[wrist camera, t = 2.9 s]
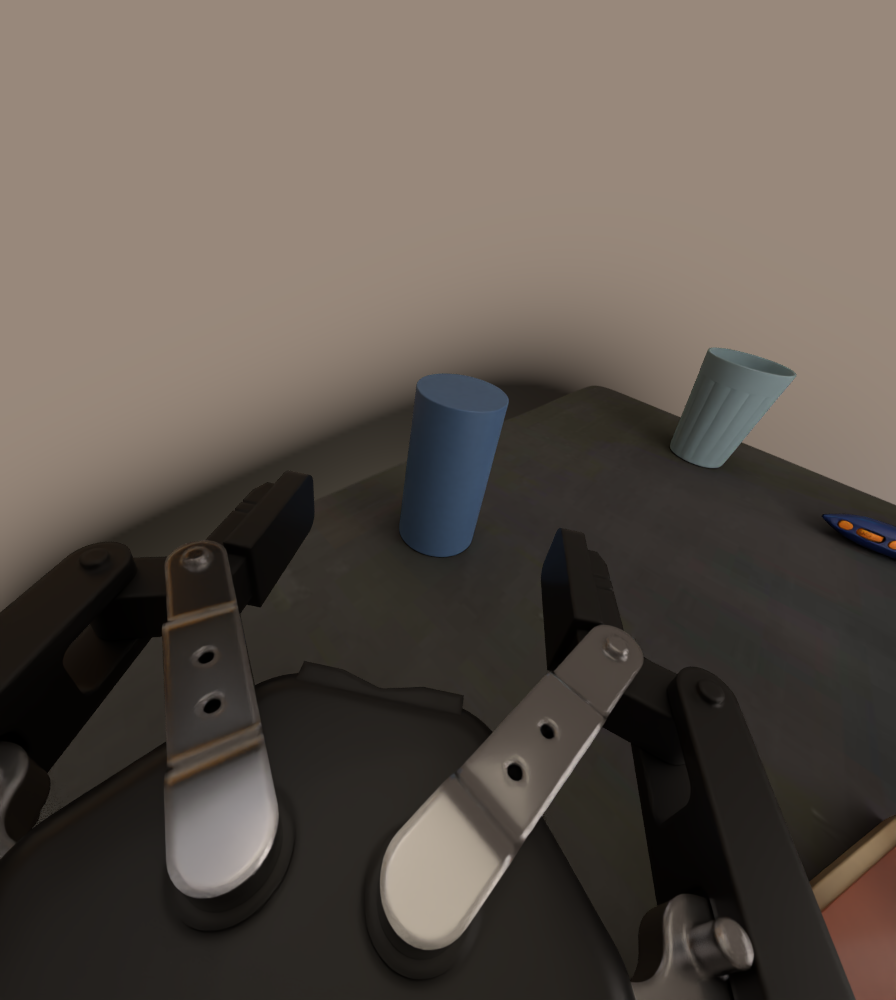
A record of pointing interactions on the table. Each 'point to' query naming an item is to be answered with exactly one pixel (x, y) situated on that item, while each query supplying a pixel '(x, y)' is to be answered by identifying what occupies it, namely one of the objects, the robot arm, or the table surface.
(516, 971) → the robot arm
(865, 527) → the tapered navy handle
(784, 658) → the table surface
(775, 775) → the table surface
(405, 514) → the blue canister
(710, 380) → the cup
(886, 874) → the board
